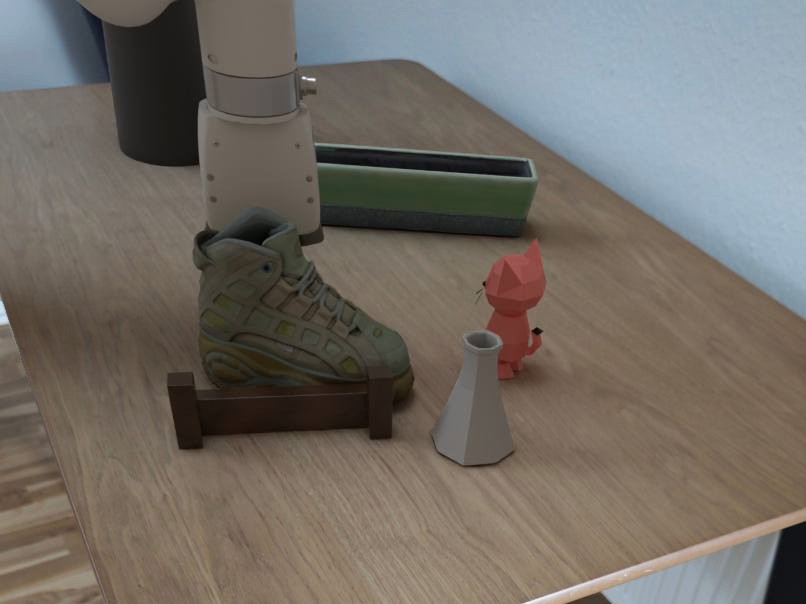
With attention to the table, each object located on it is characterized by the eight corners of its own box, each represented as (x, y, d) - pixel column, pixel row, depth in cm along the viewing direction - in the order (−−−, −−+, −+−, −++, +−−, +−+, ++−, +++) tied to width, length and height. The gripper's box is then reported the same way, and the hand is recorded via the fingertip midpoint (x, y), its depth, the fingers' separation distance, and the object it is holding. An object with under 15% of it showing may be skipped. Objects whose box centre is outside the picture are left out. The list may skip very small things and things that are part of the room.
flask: (484, 412, 82) (495, 310, 75) (529, 454, 78) (544, 351, 71) (416, 431, 79) (421, 327, 72) (459, 476, 75) (468, 371, 68)
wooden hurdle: (178, 449, 74) (166, 385, 70) (179, 425, 77) (167, 363, 72) (391, 438, 78) (393, 377, 74) (386, 416, 80) (387, 356, 76)
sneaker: (376, 442, 77) (380, 267, 67) (183, 387, 81) (160, 213, 71) (424, 393, 85) (435, 228, 75) (247, 344, 89) (235, 182, 79)
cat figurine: (494, 343, 91) (507, 224, 82) (553, 365, 89) (572, 246, 80) (458, 371, 87) (467, 249, 78) (519, 396, 85) (536, 273, 76)
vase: (245, 155, 119) (217, -128, 98) (149, 172, 112) (97, -127, 91) (195, 122, 125) (159, -150, 104) (102, 137, 119) (43, -150, 97)
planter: (526, 218, 113) (533, 157, 108) (531, 242, 108) (540, 180, 103) (306, 203, 110) (303, 140, 105) (302, 228, 105) (298, 163, 100)
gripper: (339, 78, 77) (343, 283, 91) (159, 71, 74) (191, 284, 88) (348, 108, 72) (351, 320, 86) (155, 102, 69) (190, 322, 83)
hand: (270, 301), depth 87 cm, fingers closed
